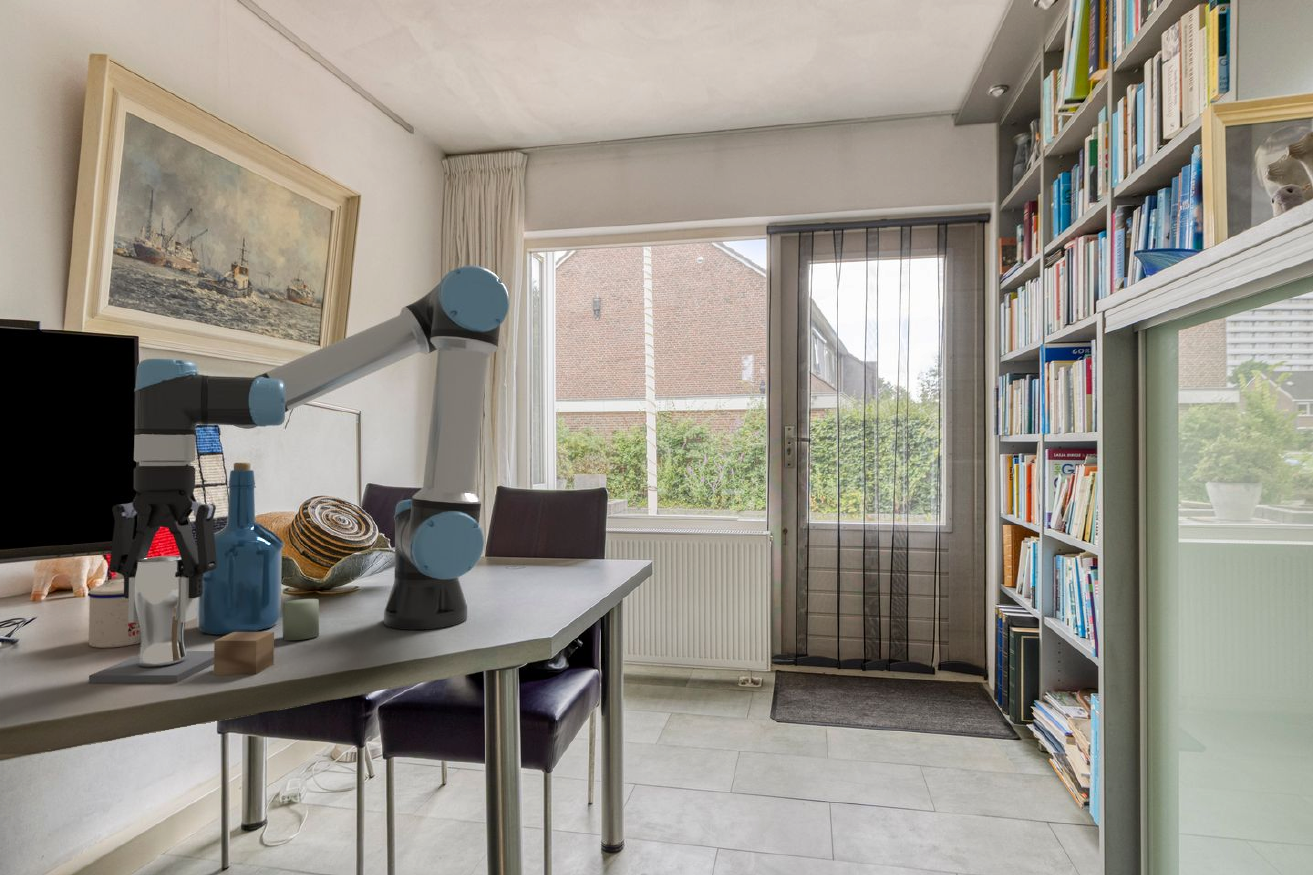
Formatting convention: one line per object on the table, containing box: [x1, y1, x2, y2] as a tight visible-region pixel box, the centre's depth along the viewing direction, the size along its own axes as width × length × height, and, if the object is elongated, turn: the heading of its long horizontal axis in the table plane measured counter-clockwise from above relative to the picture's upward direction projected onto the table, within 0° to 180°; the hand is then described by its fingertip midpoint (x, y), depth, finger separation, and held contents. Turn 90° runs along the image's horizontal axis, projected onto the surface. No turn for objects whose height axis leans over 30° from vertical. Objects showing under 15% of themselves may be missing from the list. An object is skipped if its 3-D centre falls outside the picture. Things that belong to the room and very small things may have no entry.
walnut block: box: [213, 631, 275, 676], centre depth 106 cm, size 6×5×5 cm
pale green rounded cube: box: [282, 598, 320, 641], centre depth 124 cm, size 6×6×6 cm
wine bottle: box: [196, 462, 285, 636], centre depth 131 cm, size 14×13×30 cm
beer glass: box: [134, 555, 187, 667], centre depth 106 cm, size 7×7×15 cm
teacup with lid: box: [87, 572, 141, 649], centre depth 122 cm, size 12×9×12 cm
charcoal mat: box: [88, 650, 214, 684], centre depth 105 cm, size 12×12×1 cm
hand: (163, 619), depth 106 cm, fingers closed on beer glass, 7 cm apart
